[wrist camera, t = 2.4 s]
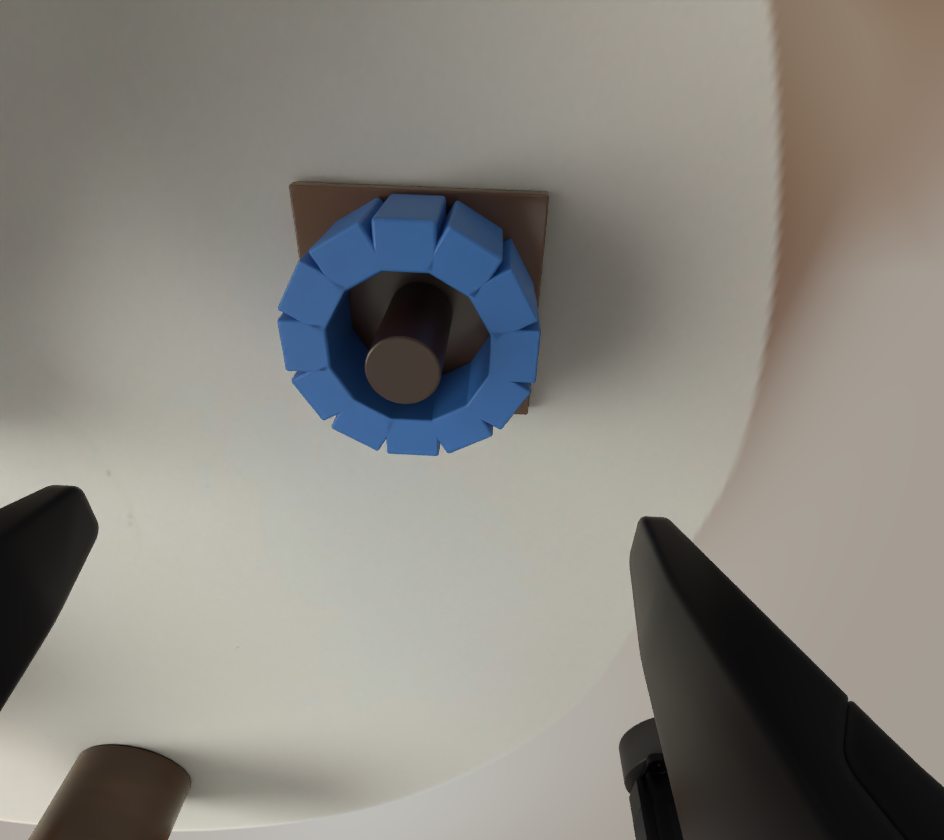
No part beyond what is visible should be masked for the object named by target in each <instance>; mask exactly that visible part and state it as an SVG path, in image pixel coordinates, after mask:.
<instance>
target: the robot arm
mask: <svg viewBox="0 0 944 840" xmlns="http://www.w3.org/2000/svg"><path fill="white" fill-rule="evenodd" d="M98 528H99V527H98V522H97V519H96V517H95V515H94V513H93V511H92V509H91V507H90V504H89V502H88V500H87V498H86V496H85V494H84V492H83V491H82V490H81V489H80V488H79V487H76V486H64V485H51V486H48V487H45V488H43V489H41V490H39V491H37V492H35V493H32V494H30V495H28V496H26V497H24V498H22V499H20V500H18V501H15V502H13V503H11V504H9V505H7V506H5V507H3V508H1V509H0V711H1V710H2V708H3V706H4V705H5V703H6V702H7V700H8V698H9V697H10V695H11V693H12V692H13V690H14V689H15V687H16V685H17V684H18V682H19V680H20V679H21V677H22V676H23V674H24V672H25V671H26V669H27V668H28V666H29V664H30V663H31V661H32V659H33V658H34V656H35V655H36V653H37V651H38V650H39V648H40V647H41V645H42V643H43V642H44V640H45V638H46V637H47V635H48V633H49V632H50V630H51V628H52V627H53V625H54V623H55V621H56V619H57V617H58V615H59V614H60V612H61V610H62V608H63V606H64V604H65V602H66V600H67V598H68V596H69V594H70V592H71V589H72V587H73V585H74V583H75V581H76V579H77V577H78V575H79V573H80V571H81V569H82V567H83V565H84V563H85V561H86V559H87V557H88V555H89V553H90V551H91V549H92V547H93V545H94V543H95V540H96V538H97V535H98ZM630 574H631V582H632V591H633V599H634V608H635V616H636V624H637V633H638V641H639V648H640V655H641V661H642V666H643V671H644V675H645V679H646V684H647V688H648V692H649V696H650V700H651V704H652V709H653V713H654V717H655V721H656V725H657V730H658V734H659V738H660V742H661V746H662V751H663V754H661V753H653V754H650V755H648V756H647V758H646V760H645V763H644V765H643V767H642V770H641V772H640V775H639V777H638V778H637V779H636V781H635V783H634V786H633V788H632V791H631V793H630V796H629V801H630V807H631V813H632V818H633V824H634V830H635V837H636V840H944V787H943V786H942V785H941V784H940V783H938V782H937V781H936V780H935V779H934V778H933V777H932V776H931V775H929V774H928V773H927V772H926V771H925V770H924V769H923V768H921V767H920V766H919V765H918V764H917V763H916V762H915V761H914V760H913V759H912V758H911V757H910V756H909V755H908V754H907V753H906V752H905V751H904V750H903V749H901V748H900V746H899V745H898V744H896V743H895V742H894V741H893V740H892V739H891V738H890V737H889V736H888V735H887V734H886V733H885V732H884V731H883V730H882V729H881V728H880V727H878V725H877V724H875V722H873V720H871V718H870V717H869V716H868V715H866V714H865V712H863V711H862V710H861V709H860V708H859V707H858V706H857V705H856V704H855V703H854V702H852V701H849V702H848V697H847V695H846V694H845V693H844V692H843V691H842V690H841V689H840V688H839V687H838V686H837V685H836V684H835V683H834V682H833V681H832V680H831V679H830V678H829V677H828V676H827V675H826V674H825V673H824V672H823V671H822V670H821V669H820V668H819V667H818V666H817V665H816V664H815V663H814V662H813V661H812V660H811V659H810V658H809V657H808V656H807V655H806V654H805V653H804V652H802V650H800V648H799V647H797V645H796V644H795V643H793V642H792V641H791V640H790V638H788V637H787V636H786V635H785V634H784V633H783V632H782V631H781V630H780V629H779V628H778V627H777V626H776V625H775V624H774V623H773V622H772V621H771V620H770V619H769V618H768V617H767V616H766V615H765V614H764V613H763V612H762V611H761V610H760V609H759V608H758V607H757V606H756V605H755V604H754V603H753V602H752V601H751V600H750V599H749V598H748V597H747V596H746V595H745V594H744V593H743V592H742V591H741V590H740V589H739V588H738V587H737V586H736V585H735V584H734V583H733V582H732V581H731V580H730V579H729V578H728V577H727V576H726V575H725V574H724V573H723V572H722V571H721V570H720V569H719V568H718V567H717V566H716V565H715V564H714V563H713V562H712V561H711V560H709V558H708V557H707V556H705V554H704V553H703V552H702V551H701V550H700V549H699V548H698V547H697V546H695V545H694V543H693V542H692V541H691V540H690V539H689V538H688V537H687V536H686V535H685V534H683V533H682V532H681V531H680V530H679V529H678V528H677V527H676V526H675V525H674V524H673V523H672V522H671V521H670V520H669V519H667V518H664V517H647V516H645V517H642V518H641V519H640V520H639V522H638V525H637V529H636V532H635V536H634V540H633V544H632V548H631V552H630Z"/></svg>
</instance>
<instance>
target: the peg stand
mask: <svg viewBox="0 0 944 840" xmlns="http://www.w3.org/2000/svg"><path fill="white" fill-rule="evenodd" d="M289 189H290V196H291V203H292V210H293V217H294V224H295V231H296V238H297V245H298V251H299V258H300V259H301V258H302V257H303V256H304V255H305V254H306V253H307V252H308V251H309V249H310V248H311V247H312V246H313V245H314V244H315V243H316V242H317V241H318V240H319V239H320V238H321V237H322V236H323V235H324V234H325V233H326V232H327V231H328V230H329V229H330V228H331V226H332V225H333V224H334V223H335V222H336V221H338V220H340V219H341V218H343V217H345V216H346V215H348V214H350V213H351V212H353V211H355V210H357V209H358V208H360V207H362V206H363V205H365V204H367V203H368V202H370V201H372V200H373V199H375V198H380V199H381V200H382V202H383V203H384V202H385V201H386V200H387V198H388V197H389V196H390V195H391V194H411V195H437V196H444V197H445V198H446V216H447V215H448V213H449V211H450V209H451V208H452V206H453V204H454V202H455V201H460V202H462V203H463V204H465V205H466V206H468V207H469V208H471V209H472V210H474V211H476V212H477V213H479V214H480V215H482V216H483V217H485V218H486V219H488V220H489V221H491V222H492V223H494V224H496V225H497V226H499V227H500V228H502V230H503V242H504V241H506V240H508V239H512V241H513V243H514V245H515V247H516V249H517V251H518V253H519V255H520V257H521V259H522V261H523V263H524V265H525V267H526V269H527V271H528V273H529V275H530V277H531V279H532V281H533V283H534V291H535V295H536V300H537V308H538V304H539V294H540V283H541V273H542V263H543V253H544V243H545V233H546V222H547V212H548V202H549V195H548V192H540V191H515V190H489V189H463V188H438V187H412V186H386V185H360V184H335V183H309V182H293V183H292V184H290V185H289ZM349 301H350V311H351V321H352V328H353V330H354V331H355V332H356V334H357V335H358V337H359V338H360V340H361V341H362V342H363V344H364V345H365V347H366V348H367V350H368V353H367V356H366V359H365V374H366V377H367V379H368V382H369V383H370V385H371V387H372V388H373V389H374V390H375V391H376V392H377V393H378V394H379V395H381V396H382V397H384V398H385V399H387V400H390V401H392V402H396V403H402V404H411V403H416V402H419V401H422V400H424V399H426V398H428V397H429V396H430V395H431V394H432V393H434V391H435V390H436V389H437V387H438V385H439V383H440V380H441V376H442V375H444V374H446V373H448V372H451V371H453V370H455V369H457V368H459V367H461V366H464V365H466V364H468V363H470V362H471V361H472V360H473V358H474V357H475V355H476V354H477V353H478V351H479V350H480V348H481V347H482V345H483V344H484V343H485V341H486V340H487V338H488V337H489V335H490V333H489V332H488V330H487V328H486V326H485V325H484V323H483V321H482V319H481V318H480V316H479V314H478V312H477V310H476V309H475V307H474V305H473V303H472V302H471V300H470V298H469V297H468V296H466V295H465V294H463V293H461V292H460V291H458V290H456V289H455V288H453V287H451V286H450V285H448V284H446V283H445V282H443V281H441V280H440V279H438V278H436V277H435V276H433V275H431V274H430V273H414V272H391V271H382V272H380V273H379V274H377V275H375V276H373V277H371V278H369V279H368V280H366V281H364V282H362V283H360V284H358V285H357V286H355V287H353V288H351V289H350V291H349ZM530 385H531V383H530ZM529 395H530V394H529ZM529 395H528V397H527V398H526V399H525V400H524V402H523V403H522V404H521V405H520V407H519V408H518V409H517V410H516V412H515V413H514V414H525V415H526V414H528V405H529Z"/></svg>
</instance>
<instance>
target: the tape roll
mask: <svg viewBox="0 0 944 840" xmlns="http://www.w3.org/2000/svg"><path fill="white" fill-rule="evenodd" d="M382 271H391V272H414V273H430V274H431V275H433V276H435V277H436V278H438V279H440V280H441V281H443V282H445V283H446V284H448V285H450V286H451V287H453V288H455V289H456V290H458V291H460V292H461V293H463V294H465V295H466V296H468V297H469V298H470V300H471V302H472V303H473V305H474V307H475V309H476V310H477V312H478V314H479V316H480V318H481V319H482V321H483V323H484V325H485V326H486V328H487V330H488V332H489V333H490V335H489V337H488V338H487V340H486V341H485V343H484V344H483V345H482V347H481V348H480V350H479V351H478V353H477V354H476V355H475V357H474V358H473V360H472V361H471V362H470V363H468V364H466V365H464V366H461V367H459V368H457V369H455V370H453V371H451V372H448V373H446V374H444V375H442V376H441V380H440V383H439V385H438V387H437V389H436V390H435V391H434V393H432V394H431V395H430V396H429V397H428V398H426V399H424V400H422V401H419V402H416V403H411V404H402V403H396V402H392V401H390V400H387V399H385V398H384V397H382V396H381V395H379V394H378V393H377V392H376V391H375V390H374V389H373V388H372V387H371V385H370V383H369V382H368V379H367V377H366V374H365V359H366V356H367V353H368V350H367V348H366V347H365V345H364V344H363V342H362V341H361V340H360V338H359V337H358V335H357V334H356V332H355V331H354V330H353V328H352V321H351V311H350V301H349V291H350V289H351V288H353V287H355V286H357V285H358V284H360V283H362V282H364V281H366V280H368V279H369V278H371V277H373V276H375V275H377V274H379V273H380V272H382ZM278 310H280V311H282V312H283V314H282V315H281V316H280V318H279V319H278V327H279V333H280V338H281V344H282V350H283V355H284V361H285V366H286V370H288V371H297V372H296V374H295V375H294V377H293V378H292V383H293V384H294V385H295V387H296V388H297V389H298V390H299V392H300V393H301V394H302V395H303V396H304V398H305V399H306V400H307V401H308V403H309V404H310V405H311V406H312V408H313V409H314V410H315V411H316V413H317V414H318V415H319V416H320V418H321V419H322V420H326V419H328V418H330V417H332V416H335V415H336V418H335V420H334V422H333V424H332V428H333V429H335V430H337V431H339V432H341V433H343V434H345V435H347V436H349V437H351V438H353V439H355V440H357V441H359V442H361V443H363V444H365V445H367V446H369V447H371V448H373V449H375V450H379V449H380V447H381V446H382V444H383V443H384V441H385V439H386V440H387V452H388V453H390V454H410V455H429V456H438V454H439V449H440V443H441V445H442V446H443V447H444V449H445V450H446V452H447V453H451V452H454V451H456V450H459V449H461V448H464V447H466V446H469V445H471V444H473V443H476V442H478V441H481V440H483V439H486V438H488V437H490V436H492V435H493V426H495V427H496V428H498V429H502V428H503V427H504V425H505V424H506V423H507V422H508V420H509V419H510V418H511V417H512V415H513V414H514V413H515V412H516V410H517V409H518V408H519V407H520V405H521V404H522V403H523V402H524V400H525V399H526V398H527V397H528V395H529V394H530V393H531V387H530V383H535V381H536V373H537V363H538V354H539V344H540V334H541V332H540V324H539V316H538V308H537V300H536V295H535V291H534V283H533V281H532V279H531V277H530V275H529V273H528V271H527V269H526V267H525V265H524V263H523V261H522V259H521V257H520V255H519V253H518V251H517V249H516V247H515V245H514V243H513V241H512V239H508V240H506V241H504V242H503V230H502V228H500V227H499V226H497V225H496V224H494V223H492V222H491V221H489V220H488V219H486V218H485V217H483V216H482V215H480V214H479V213H477V212H476V211H474V210H472V209H471V208H469V207H468V206H466V205H465V204H463V203H462V202H460V201H455V202H454V204H453V206H452V208H451V209H450V211H449V213H448V215H447V216H446V198H445V197H444V196H437V195H411V194H391V195H390V196H389V197H388V198H387V200H386V201H385V202H384V203H383V202H382V200H381V199H380V198H375V199H373V200H372V201H370V202H368V203H367V204H365V205H363V206H362V207H360V208H358V209H357V210H355V211H353V212H351V213H350V214H348V215H346V216H345V217H343V218H341V219H340V220H338V221H336V222H335V223H334V224H333V225H332V226H331V228H330V229H329V230H328V231H327V232H326V233H325V234H324V235H323V236H322V237H321V238H320V239H319V240H318V241H317V242H316V243H315V244H314V245H313V246H312V247H311V248H310V249H309V251H308V252H307V253H306V254H305V255H304V256H303V257H302V258H301V259H300V260H299V261H298V264H297V266H296V268H295V270H294V273H293V275H292V277H291V279H290V282H289V284H288V286H287V288H286V291H285V293H284V295H283V297H282V300H281V302H280V304H279V307H278Z"/></svg>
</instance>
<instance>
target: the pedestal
mask: <svg viewBox="0 0 944 840" xmlns="http://www.w3.org/2000/svg"><path fill="white" fill-rule="evenodd" d="M190 785H191V782H190V778H189V776H188V775H187V773H186V772H185V771H184V770H183V769H182V768H181V767H180V766H178V765H177V764H175V763H174V762H172V761H170V760H169V759H167V758H164V757H162V756H160V755H158V754H155V753H152V752H149V751H146V750H142V749H138V748H133V747H127V746H118V745H103V746H96V747H92V748H89V749H87V750H85V751H83V752H82V753H81V754H80V755H79V756H78V758H77V760H76V761H75V763H74V765H73V766H72V768H71V770H70V771H69V773H68V775H67V776H66V778H65V780H64V781H63V783H62V785H61V786H60V788H59V790H58V791H57V793H56V795H55V796H54V798H53V800H52V801H51V803H50V805H49V806H48V808H47V810H46V811H45V813H44V815H43V816H42V818H41V820H40V821H39V823H38V825H37V827H36V828H35V830H34V831H33V833H32V835H31V836H30V838H29V840H168V838H169V836H170V833H171V831H172V829H173V826H174V824H175V822H176V819H177V817H178V814H179V812H180V810H181V807H182V805H183V803H184V800H185V798H186V796H187V793H188V791H189V789H190Z"/></svg>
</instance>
